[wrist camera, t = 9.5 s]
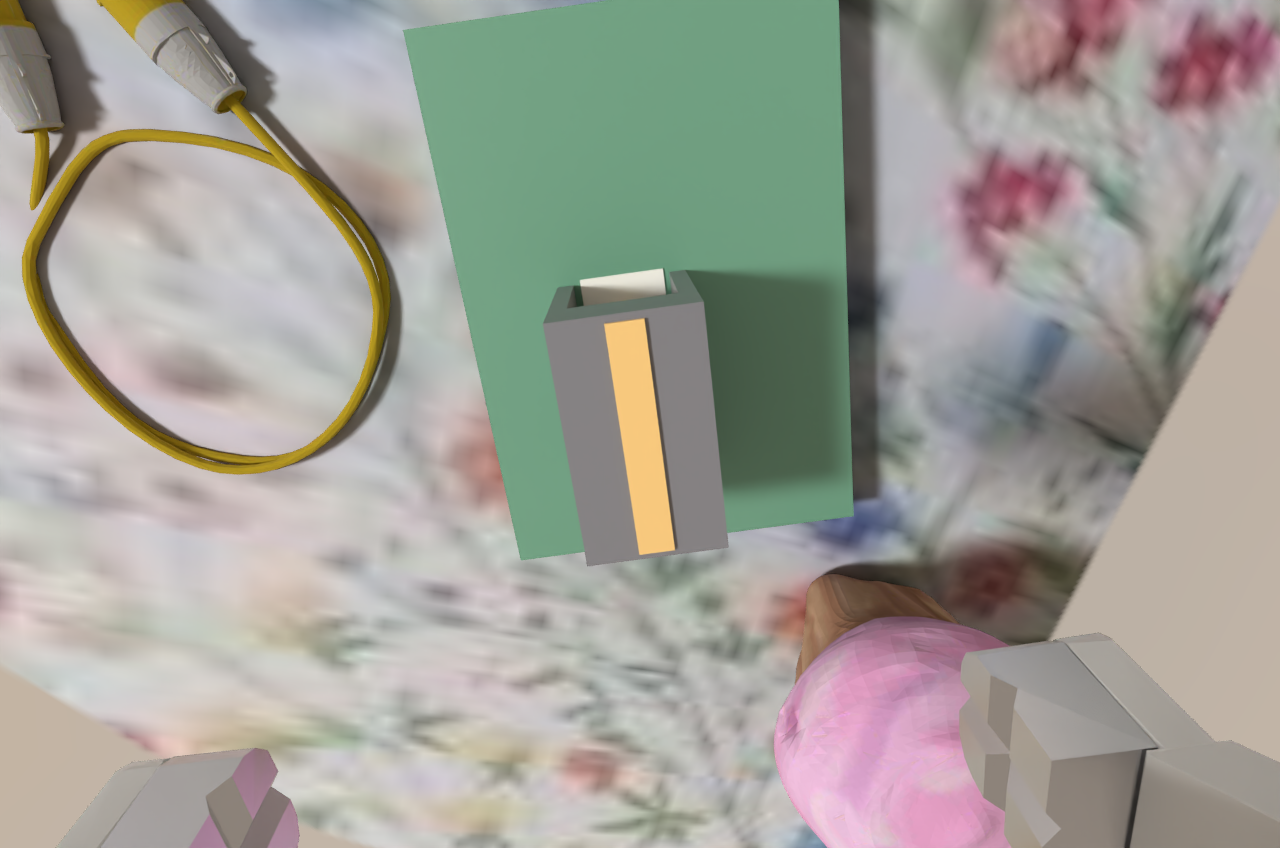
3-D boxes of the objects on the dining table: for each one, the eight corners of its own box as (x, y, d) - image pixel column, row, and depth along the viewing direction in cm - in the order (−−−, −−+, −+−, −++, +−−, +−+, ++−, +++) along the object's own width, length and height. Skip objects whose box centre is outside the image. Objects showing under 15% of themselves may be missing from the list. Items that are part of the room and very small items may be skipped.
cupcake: (991, 544, 28) (1179, 740, 19) (923, 718, 31) (1056, 962, 22) (769, 514, 27) (851, 703, 18) (722, 695, 30) (771, 939, 21)
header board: (417, 37, 21) (368, 10, 17) (822, -21, 21) (875, -64, 17) (525, 539, 27) (509, 610, 23) (841, 497, 27) (882, 560, 23)
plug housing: (557, 287, 22) (542, 324, 18) (685, 269, 22) (703, 302, 18) (592, 488, 25) (587, 568, 20) (707, 472, 25) (729, 549, 20)
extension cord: (408, 6, 21) (388, -8, 19) (387, 481, 27) (369, 506, 25) (-31, -78, 20) (-96, -100, 18) (41, 435, 26) (-5, 458, 24)
